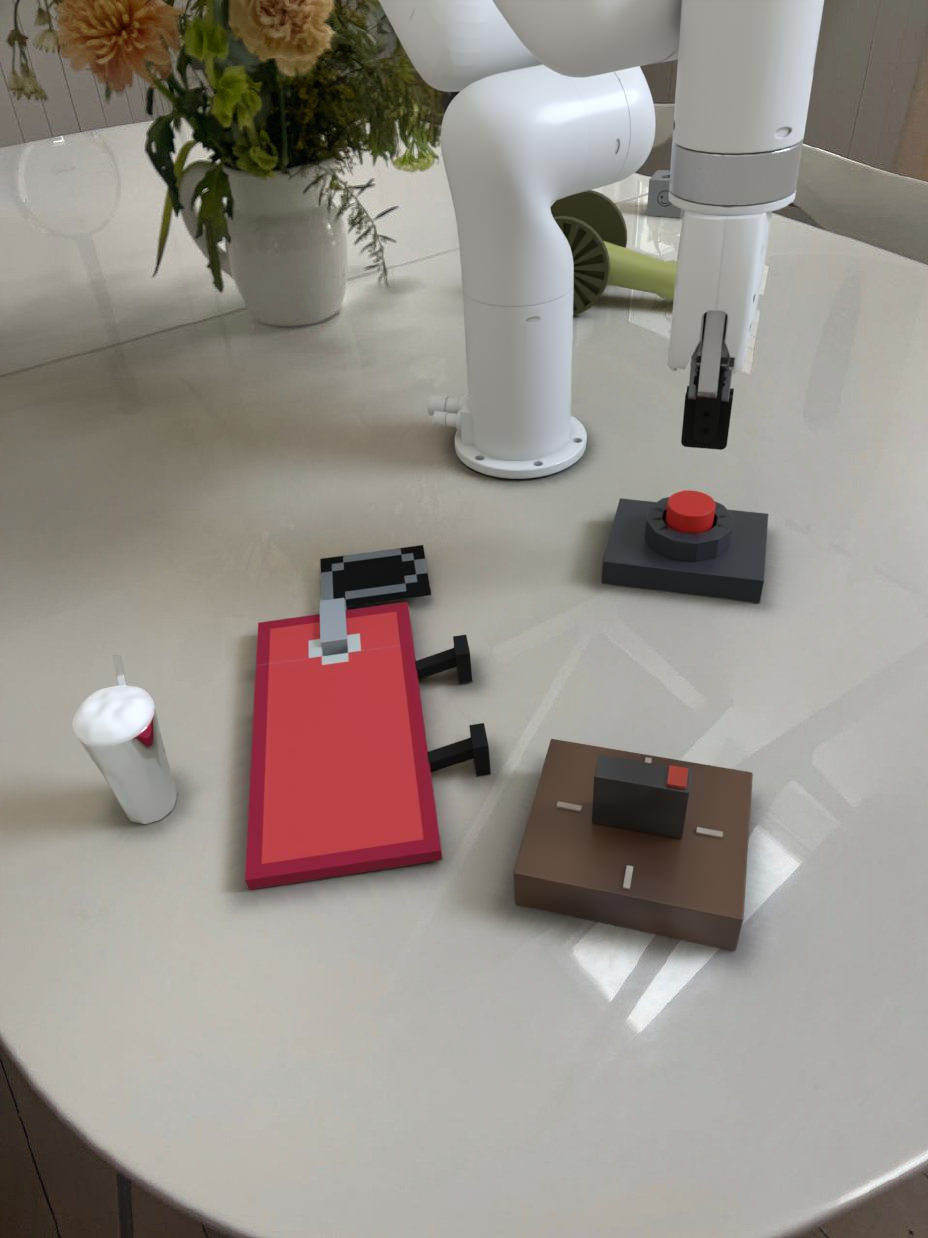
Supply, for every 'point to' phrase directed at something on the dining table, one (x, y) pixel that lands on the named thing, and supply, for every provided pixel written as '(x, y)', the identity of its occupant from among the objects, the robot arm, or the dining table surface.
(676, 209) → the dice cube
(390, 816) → the red board with handle
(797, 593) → the dining table surface
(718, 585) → the button box
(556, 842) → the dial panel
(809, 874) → the dining table surface
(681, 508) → the power button
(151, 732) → the milkshake
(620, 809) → the box with red button
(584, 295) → the cannon
